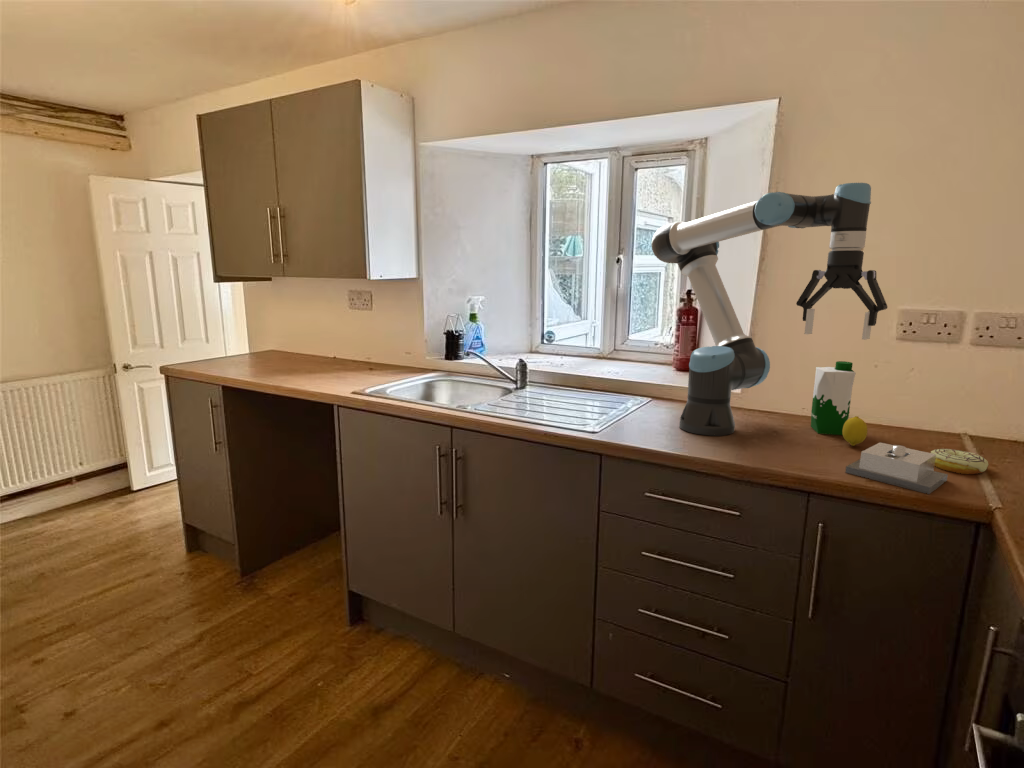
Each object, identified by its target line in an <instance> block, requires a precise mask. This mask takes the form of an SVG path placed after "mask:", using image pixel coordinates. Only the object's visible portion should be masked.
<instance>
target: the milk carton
mask: <svg viewBox="0 0 1024 768" xmlns="http://www.w3.org/2000/svg"><path fill="white" fill-rule="evenodd" d="M814 375H815V376H814V383H813V384H814V385H813V392H812V393H813V394H812V400H811V401H812V403H811V413H810V428H811V427H812V428H813V429H812V428H811V429H812V430H814V432H816V433H817V434H818V435H819V434H820V435H834V436H835V435H836V436H843V432H842V431H843V426H844V424H845V422H846V421H847V420H848V419H850V417H849V416H850V410H851V409H850V408H851V400H852V394H853V393H852V392H853V385H854V383H855V377H856V371H854V370H853V362H851V361H842V360H841V361H839V360H838V361H836V362H835V367H834V366H825V367H822V366H816V367H815V374H814Z"/></svg>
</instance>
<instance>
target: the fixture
mask: <svg viewBox="0 0 1024 768" xmlns="http://www.w3.org/2000/svg"><path fill="white" fill-rule="evenodd" d="M892 445H893V449H892V454H895V455H899V456H904V457H905V452H906V448H907V447H906V446H904V445H900V444H892ZM859 466H860V459H857V460H856V461H853V462H852V463H850V464H848V465H846V466H845V471H844V473H846V474H850V475H853V476H854V475H855V476H858V477H860V476H861V478H864V477H865V478H864V479H868V478H869V479H870V480H873V481H877V482H881V483H885V484H888V485H893V486H897V487H899V488H904V489H908V490H912V491H915V492H919V493H922V494H926V493H927V495H930V494H931V493H933V492H934V491H935V490H937V489H938V488H940V487H941V486H942V485H943V484H945V483H946V482H947V481H948V473H944V472H938V471H935V470H934V471H933V472H932V473H931V474H929V475H928V476H926V477H925V478H923V479H922V480H920V481H919V482H918V483H914V482H910V481H906V480H902V479H898V478H894V477H890V476H886V475H882V474H878V473H874V472H870V471H866V470H862V469H859ZM944 482H945V483H944Z"/></svg>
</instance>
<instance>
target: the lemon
mask: <svg viewBox="0 0 1024 768" xmlns="http://www.w3.org/2000/svg"><path fill="white" fill-rule="evenodd" d="M842 432H843V435H842V437H843V439H844V440H845V441H846V442H847V443H849V444H850V445H851V446H853V447H855V446H856V445H858V444H861V443H863V442H864V441H865V439H866V438H867V435H868V425H867V423H866V421H865V420H864V419H862V418H860V417H859V415H858V416H857V415H856V416H854V417H849V418H848V420H847V421H846V422H845V424H844V426H843V431H842Z"/></svg>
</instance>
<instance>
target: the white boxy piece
mask: <svg viewBox="0 0 1024 768" xmlns="http://www.w3.org/2000/svg"><path fill="white" fill-rule="evenodd" d="M893 445H894V444H889V443H885V442H878V443H876V444H873V445H872V446H870V447H868V448H866V449H865V450H862V451H861V452H860V466H859V469H862V470H866V471H870V472H874V473H878V474H882V475H886V476H890V477H894V478H898V479H902V480H906V481H910V482H914V483H918V482H919V481H920V480H922V479H923V478H925V477H926V476H928V475H929V474H931V473H932V472H933V471H935V470H934V469H935V466H934V465H935V458H936V454H932V453H931V452H927V451H921V450H917V449H914V448H913V449H912V448H909V447H906V452H905V457H904V456H899V455H895V454H892V449H893Z"/></svg>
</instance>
